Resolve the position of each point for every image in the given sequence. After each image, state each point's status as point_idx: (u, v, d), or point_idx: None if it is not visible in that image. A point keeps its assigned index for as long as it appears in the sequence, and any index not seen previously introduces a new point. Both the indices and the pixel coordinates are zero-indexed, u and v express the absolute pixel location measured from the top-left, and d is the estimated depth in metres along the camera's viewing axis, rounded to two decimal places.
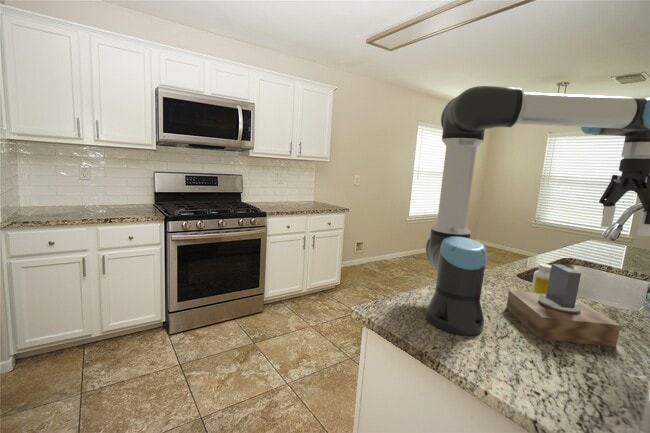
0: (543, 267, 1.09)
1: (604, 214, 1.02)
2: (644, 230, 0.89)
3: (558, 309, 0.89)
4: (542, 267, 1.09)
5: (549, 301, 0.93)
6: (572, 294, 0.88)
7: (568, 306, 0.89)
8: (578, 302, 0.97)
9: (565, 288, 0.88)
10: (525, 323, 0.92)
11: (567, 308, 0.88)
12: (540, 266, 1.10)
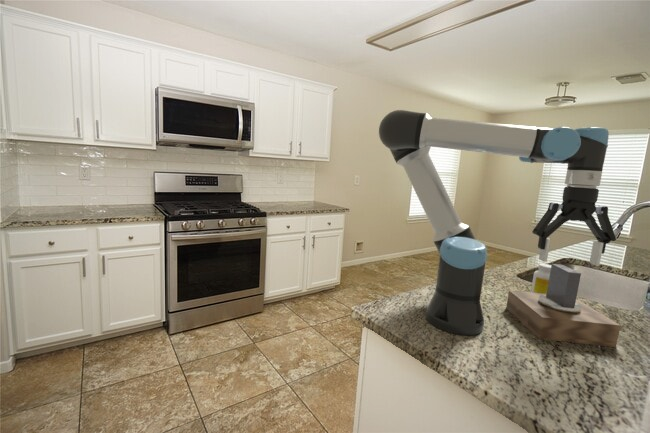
0: (543, 267, 1.09)
1: None
2: (541, 254, 0.92)
3: (558, 309, 0.89)
4: (542, 267, 1.09)
5: (549, 301, 0.93)
6: (572, 294, 0.88)
7: (568, 306, 0.89)
8: (578, 302, 0.97)
9: (565, 288, 0.88)
10: (525, 323, 0.92)
11: (567, 308, 0.88)
12: (540, 266, 1.10)
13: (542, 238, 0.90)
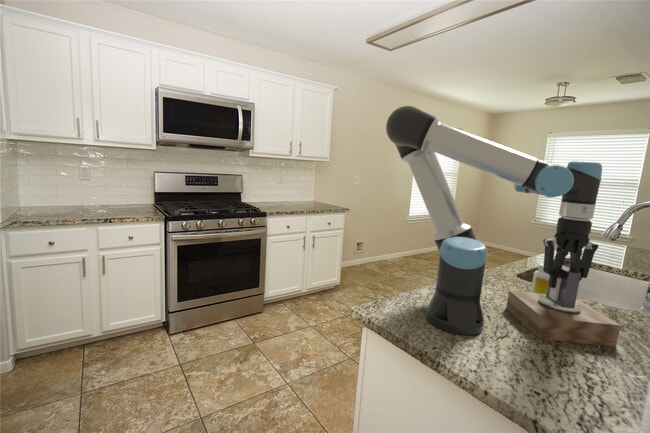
0: None
1: None
2: (552, 293, 0.93)
3: (558, 309, 0.89)
4: (542, 267, 1.09)
5: (549, 301, 0.93)
6: (572, 294, 0.88)
7: (568, 306, 0.89)
8: (578, 302, 0.97)
9: (565, 288, 0.88)
10: (525, 323, 0.92)
11: (567, 308, 0.88)
12: (540, 266, 1.10)
13: (553, 277, 0.91)
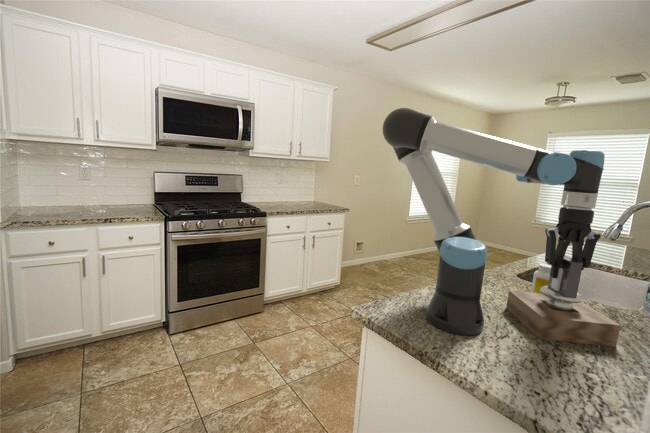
0: (543, 267, 1.09)
1: None
2: (553, 283, 0.92)
3: (560, 299, 0.88)
4: (542, 267, 1.09)
5: (551, 291, 0.92)
6: (574, 284, 0.88)
7: (570, 296, 0.88)
8: None
9: (567, 278, 0.88)
10: (525, 323, 0.92)
11: (569, 298, 0.88)
12: (540, 266, 1.10)
13: (555, 267, 0.91)
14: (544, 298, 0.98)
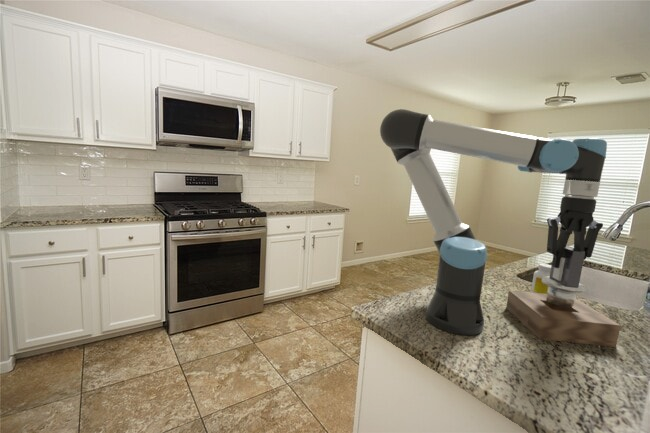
0: (543, 267, 1.09)
1: None
2: (555, 273, 0.92)
3: (562, 289, 0.88)
4: (542, 267, 1.09)
5: (553, 281, 0.92)
6: (576, 273, 0.87)
7: (572, 285, 0.88)
8: (578, 302, 0.97)
9: (569, 267, 0.87)
10: (525, 323, 0.92)
11: (571, 287, 0.87)
12: (540, 266, 1.10)
13: (557, 257, 0.90)
14: (544, 298, 0.98)
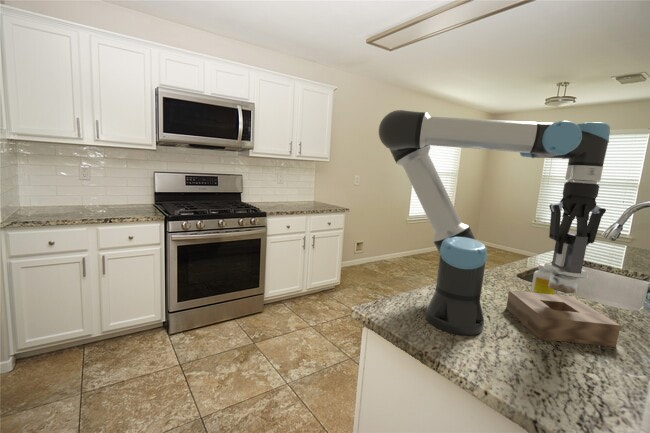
0: (543, 267, 1.09)
1: None
2: (558, 259, 0.91)
3: (565, 274, 0.87)
4: (542, 267, 1.09)
5: (555, 268, 0.91)
6: (579, 259, 0.87)
7: (575, 271, 0.87)
8: (578, 302, 0.97)
9: (572, 253, 0.87)
10: (525, 323, 0.92)
11: (574, 273, 0.87)
12: (540, 266, 1.10)
13: (559, 243, 0.90)
14: (544, 298, 0.98)
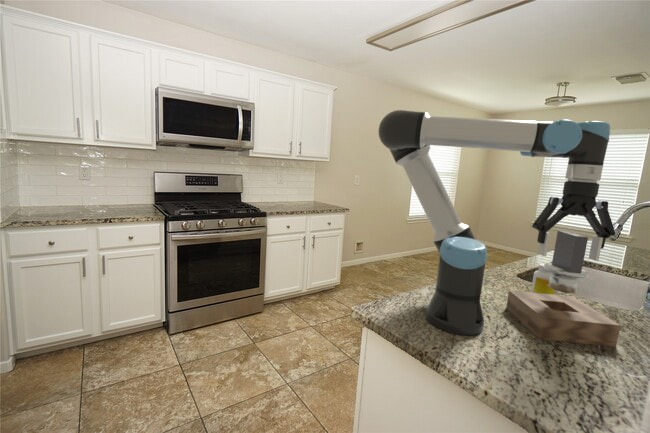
0: (543, 267, 1.09)
1: None
2: (540, 249, 0.91)
3: (565, 274, 0.87)
4: (542, 267, 1.09)
5: (555, 267, 0.91)
6: (579, 259, 0.87)
7: (575, 271, 0.87)
8: (578, 302, 0.97)
9: (572, 253, 0.87)
10: (525, 323, 0.92)
11: (574, 273, 0.87)
12: (540, 266, 1.10)
13: (542, 232, 0.90)
14: (544, 298, 0.98)
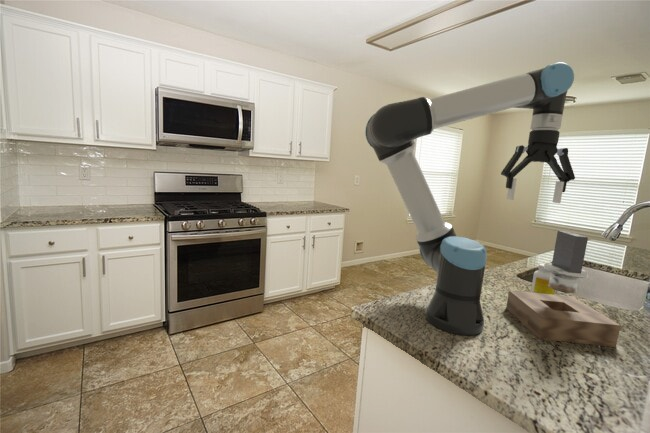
0: (543, 267, 1.09)
1: None
2: (509, 194, 1.01)
3: (565, 274, 0.87)
4: (542, 267, 1.09)
5: (555, 267, 0.91)
6: (579, 259, 0.87)
7: (575, 271, 0.87)
8: (578, 302, 0.97)
9: (572, 253, 0.87)
10: (525, 323, 0.92)
11: (574, 273, 0.87)
12: (540, 266, 1.10)
13: (509, 178, 0.99)
14: (544, 298, 0.98)
